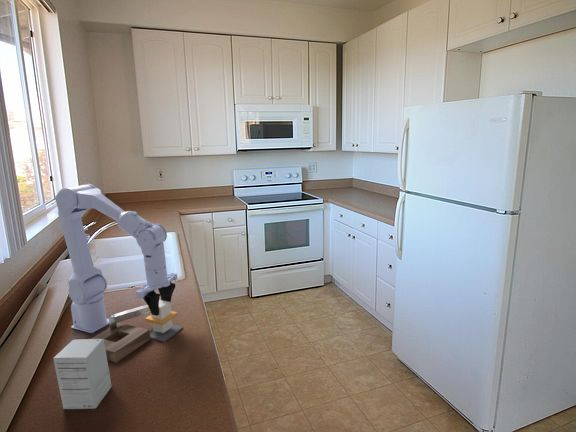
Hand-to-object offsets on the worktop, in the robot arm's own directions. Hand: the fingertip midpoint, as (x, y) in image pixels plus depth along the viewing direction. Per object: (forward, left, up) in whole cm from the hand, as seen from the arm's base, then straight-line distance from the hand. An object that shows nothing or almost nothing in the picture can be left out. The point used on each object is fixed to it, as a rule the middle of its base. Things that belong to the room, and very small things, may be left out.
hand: (160, 311), depth 108 cm
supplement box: (+4, -28, -7) cm, 29 cm away
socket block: (-7, -10, -7) cm, 14 cm away
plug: (0, 0, -6) cm, 6 cm away
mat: (0, 0, -7) cm, 7 cm away
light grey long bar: (-9, -2, -4) cm, 10 cm away
